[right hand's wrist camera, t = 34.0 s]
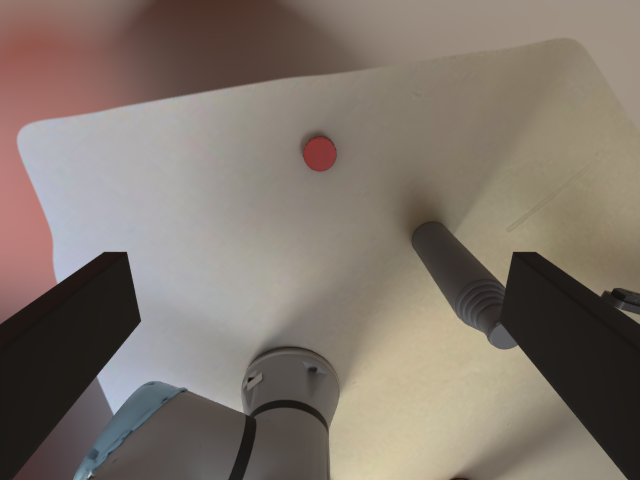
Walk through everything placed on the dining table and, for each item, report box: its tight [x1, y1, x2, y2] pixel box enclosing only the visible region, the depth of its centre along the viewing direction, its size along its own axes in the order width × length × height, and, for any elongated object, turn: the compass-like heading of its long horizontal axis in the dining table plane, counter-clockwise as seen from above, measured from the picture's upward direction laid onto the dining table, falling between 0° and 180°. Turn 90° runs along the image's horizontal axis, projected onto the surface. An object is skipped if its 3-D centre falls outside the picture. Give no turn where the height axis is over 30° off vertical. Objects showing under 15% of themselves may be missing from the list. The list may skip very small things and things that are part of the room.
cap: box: [303, 137, 337, 171], centre depth 44 cm, size 4×4×2 cm
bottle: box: [412, 222, 518, 349], centre depth 39 cm, size 5×5×22 cm
